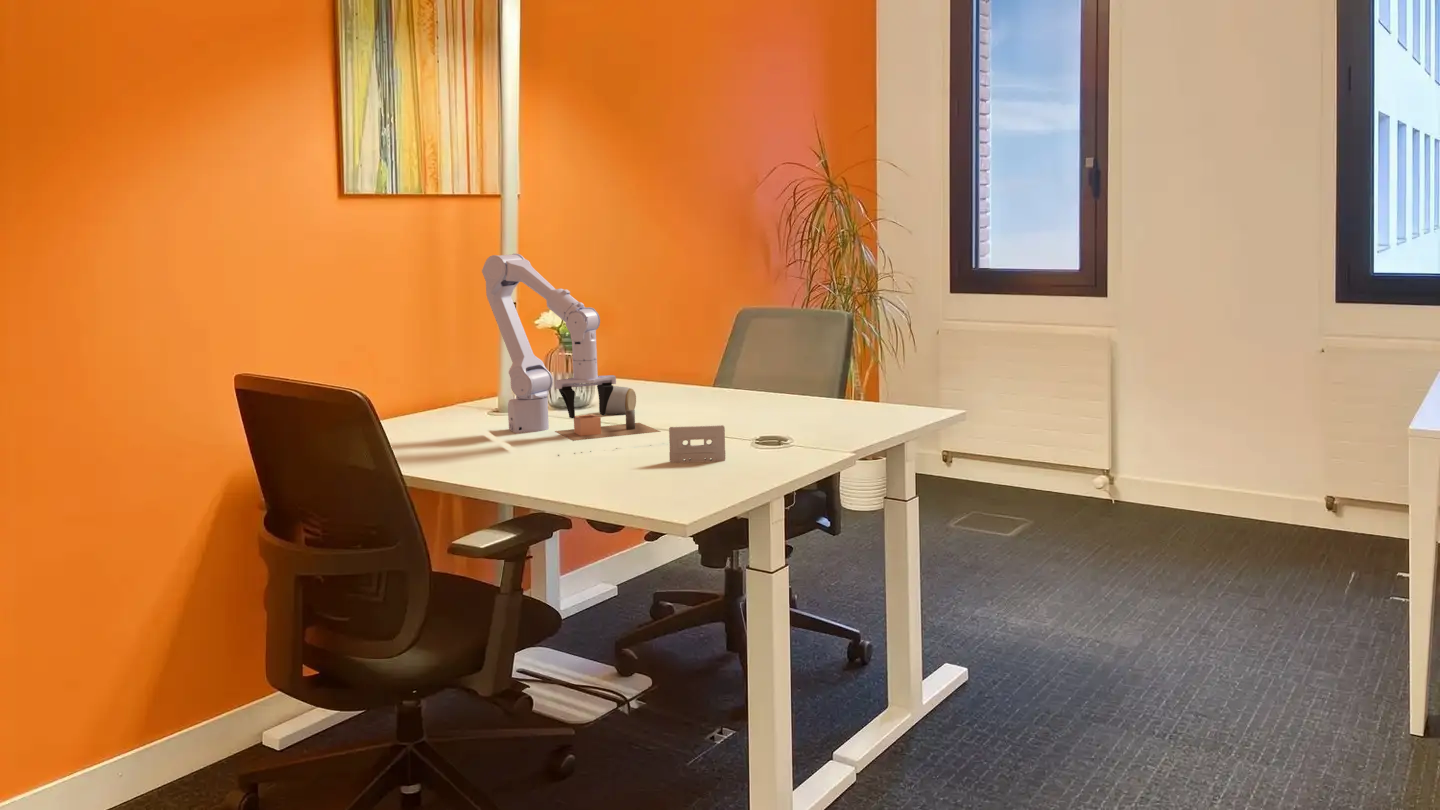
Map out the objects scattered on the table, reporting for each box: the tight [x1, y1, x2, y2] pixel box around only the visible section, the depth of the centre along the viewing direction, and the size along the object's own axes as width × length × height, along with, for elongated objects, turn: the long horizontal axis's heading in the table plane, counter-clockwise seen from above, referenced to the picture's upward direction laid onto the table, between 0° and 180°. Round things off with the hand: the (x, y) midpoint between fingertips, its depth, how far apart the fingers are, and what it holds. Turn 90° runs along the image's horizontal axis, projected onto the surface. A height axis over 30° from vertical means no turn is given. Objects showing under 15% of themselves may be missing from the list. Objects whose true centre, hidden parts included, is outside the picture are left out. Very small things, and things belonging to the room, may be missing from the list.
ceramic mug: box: [605, 385, 637, 416], centre depth 328 cm, size 11×8×8 cm
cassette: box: [668, 424, 726, 463], centre depth 264 cm, size 12×2×8 cm, turn 93°
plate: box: [554, 409, 662, 442], centre depth 296 cm, size 22×14×6 cm, turn 115°
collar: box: [573, 413, 602, 436], centre depth 294 cm, size 5×5×4 cm
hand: (587, 416), depth 293 cm, fingers open, 7 cm apart
